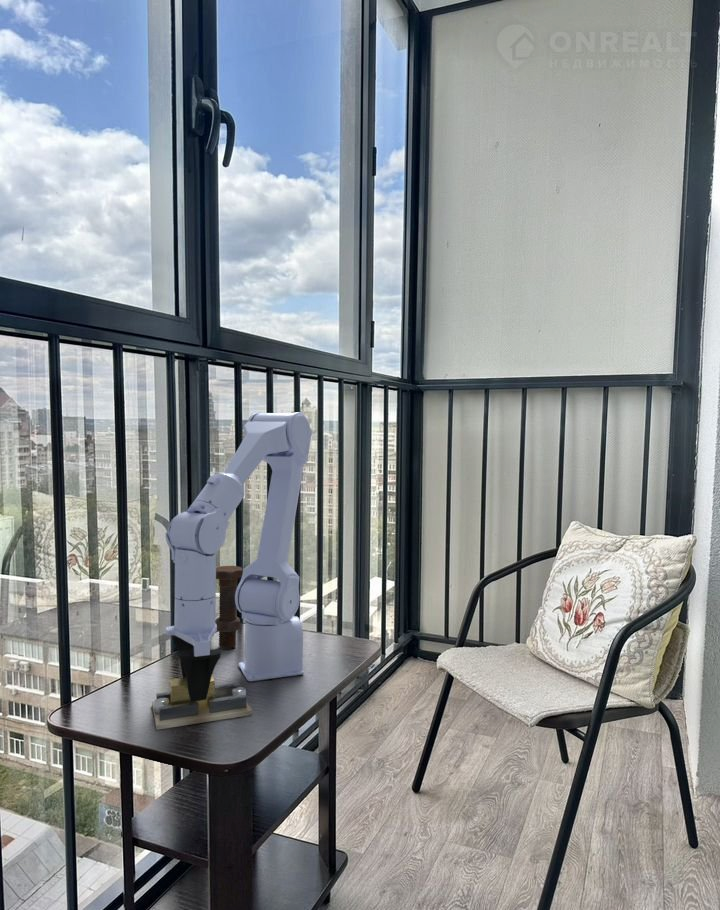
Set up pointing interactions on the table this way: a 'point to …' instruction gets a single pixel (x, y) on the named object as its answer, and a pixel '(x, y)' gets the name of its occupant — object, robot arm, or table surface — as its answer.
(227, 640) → the bolt
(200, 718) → the plywood plate
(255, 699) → the table surface
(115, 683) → the table surface
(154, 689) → the table surface
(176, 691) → the khaki rectangular block
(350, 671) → the table surface
